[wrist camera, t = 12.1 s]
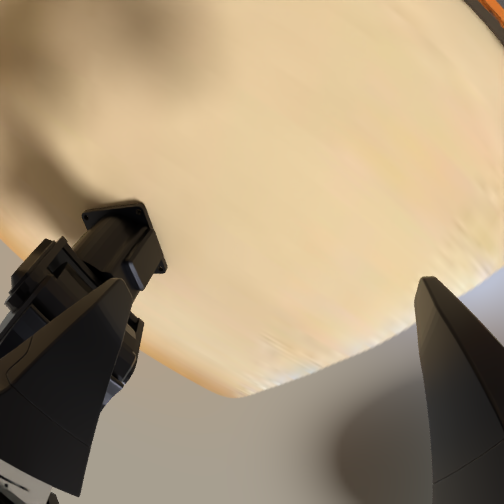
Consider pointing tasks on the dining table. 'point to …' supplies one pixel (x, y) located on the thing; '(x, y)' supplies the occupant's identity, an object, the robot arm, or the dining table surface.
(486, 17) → the electronic device
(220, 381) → the dining table surface
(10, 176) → the dining table surface
